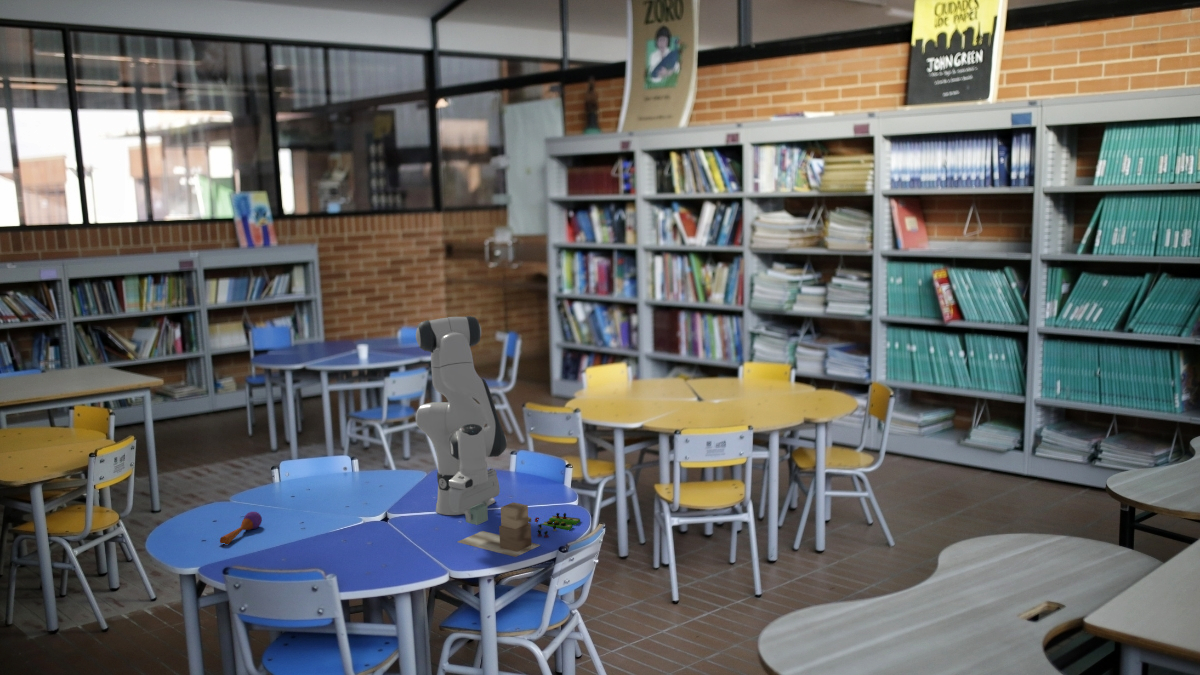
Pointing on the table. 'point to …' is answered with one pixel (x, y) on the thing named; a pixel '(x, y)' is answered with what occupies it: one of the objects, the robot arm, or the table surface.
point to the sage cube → (478, 514)
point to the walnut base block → (515, 537)
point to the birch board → (492, 543)
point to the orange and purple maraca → (244, 526)
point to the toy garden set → (557, 523)
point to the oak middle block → (514, 515)
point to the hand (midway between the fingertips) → (476, 517)
